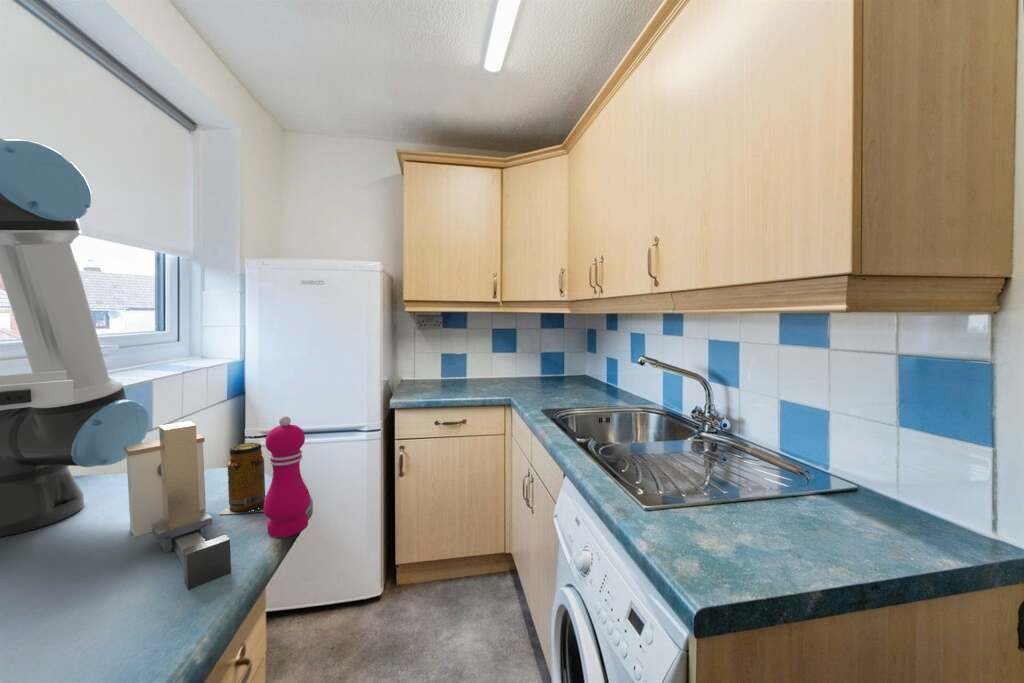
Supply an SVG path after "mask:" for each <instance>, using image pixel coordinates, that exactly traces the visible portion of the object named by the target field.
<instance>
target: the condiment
mask: <svg viewBox="0 0 1024 683" xmlns="http://www.w3.org/2000/svg"><path fill="white" fill-rule="evenodd" d="M227 477H228V478H227V483H228V484H227V485H228V486H227V491H228V493H227V494H228V506H227V507H228V508H229V509H227V507H226V508H225V509H223V510H221V511H220V512H219V513H218V515H240V514H244V513H245V514H251V513H252V514H253V513H255V514H256V513H264V501H265V498H266V479H265V477H266V476H265V458H264V456H263V451H262V444H260V443H259V442H245V443H240V444H236V445H233V446H232V447H231V448H230V449H229V461H228V463H227ZM229 506H230V507H229ZM258 508H259V509H258ZM251 510H254V511H251ZM249 511H250V512H249Z"/></svg>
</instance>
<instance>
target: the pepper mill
mask: <svg viewBox="0 0 1024 683" xmlns="http://www.w3.org/2000/svg"><path fill="white" fill-rule="evenodd" d="M291 421H292V420H291V418H290V416H287V415H284V416H281V417H280V418H279V421H278V424H279V425H278V426H275V427H274V428H271V429H270V430H269V431H268V433H267V434H266V438H265V442H264V443H265V447H266V450H268V451H269V452H270V455H269V456H268V458H269V464H270V465H272V479H271V482H270V486H269V489H268V490H267V493H266V494H265V496H266V498H265V501H264V512H263V514H264V515H265V517H267V519H269V520H268V521H267V534H268V535H269V536H270V537H272V538H277V539H278V538H286V537H292V536H294V535H298V534H299V533H301V532H303V531H304V530H305V529H307V528H308V526H309V515H308V514H309V513H307V510H308V509H309V508H310V505H311V495H310V491H309V488H308V487H307V485H306V484H305V481H304V478H302V474H301V468H300V467H301V466H300V465H301V464H300V463H301V461H302V459H303V455H302V454H303V451H302V449H301V448H302V447H303V446H304V444H305V441H306V436H305V432H304V429H302V427H300V426H299V425H295V424H292V423H291Z"/></svg>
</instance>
